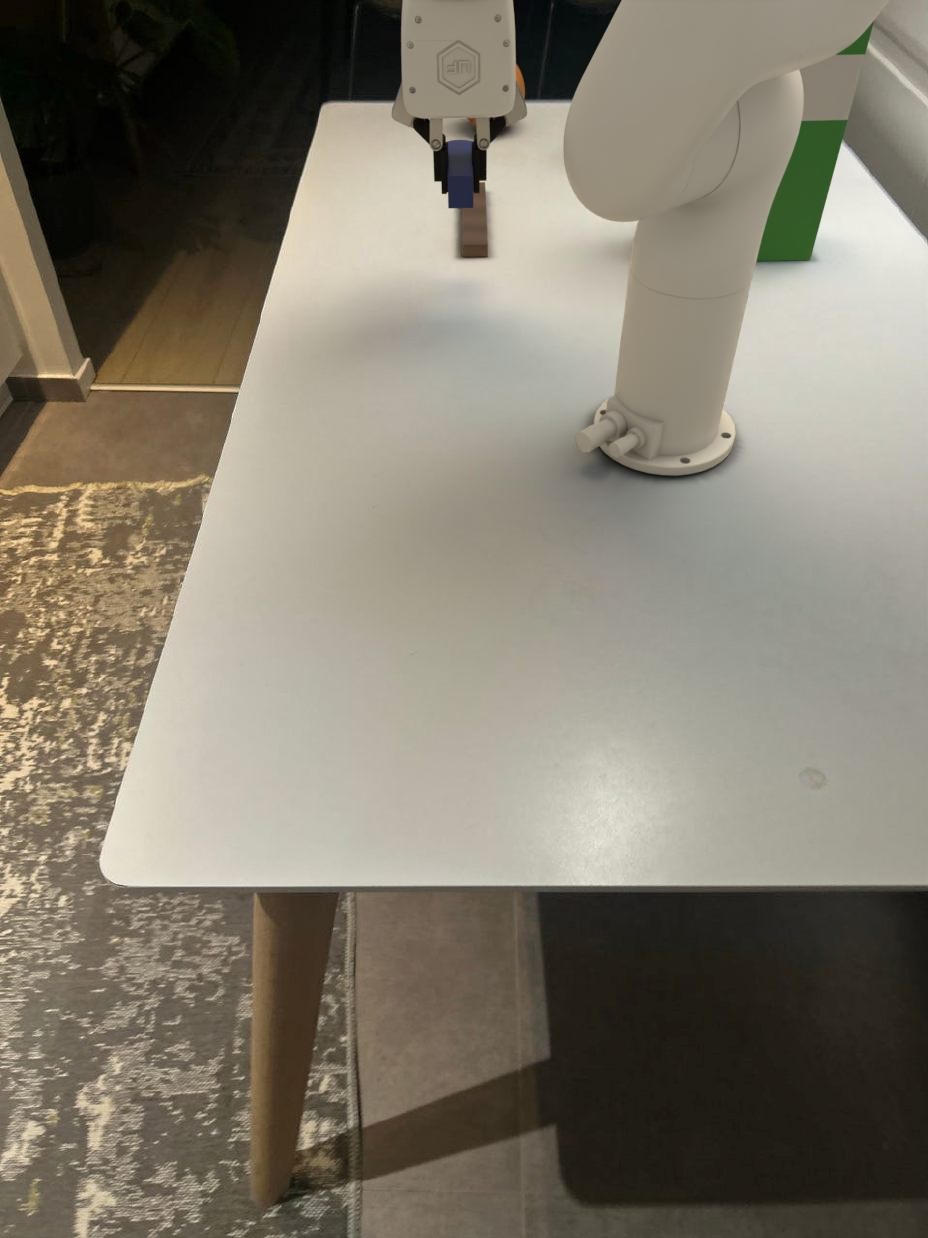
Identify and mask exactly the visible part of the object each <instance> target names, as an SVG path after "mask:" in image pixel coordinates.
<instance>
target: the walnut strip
mask: <svg viewBox="0 0 928 1238" xmlns="http://www.w3.org/2000/svg"><path fill="white" fill-rule="evenodd" d="M486 193H487V192H486V181H480V193H474V192H473V208H461V237H462V238H461V242H462V243H461V251H462V252H461V254H462V256H461V257H462V258H479V257H480V258H481V257H482V258H483V257H486V258H487V257H488V256H489V240H488V239H489V237H488V216H487V215H488V214H487V194H486Z"/></svg>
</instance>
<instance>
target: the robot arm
mask: <svg viewBox="0 0 928 1238" xmlns="http://www.w3.org/2000/svg"><path fill="white" fill-rule="evenodd" d="M890 1H891V0H621V1H620V3H619V5H618V6H617V8H616V10H615V12H614V14H613V16H612V18H611V20H610V21H609V24H608V26H607V28H606V30H605V31H604V34H603V36H602V38H601V39H600V41H599V44H598V45H597V46H596V49H595V51H594V54H593V55H592V57H591V60H590V61H589V63H588V65H587V67H586V69H585V71H584V73H583V74H582V76H581V78H580V81H579V82H578V85H577V87H576V89H575V92H574V95H573V97H572V99H571V103H570V106H569V109H568V112H567V116H566V121H565V125H564V132H563V142H562V143H563V145H562V146H563V149H562V150H563V164H564V169H565V173H566V178H567V180H568V183H569V187H571V190H572V192H573V194H574V195H575V197H576V199H577V200H578V201H579V202H580V203H581V205H582V206H583V207H584V208H585V209H587V210H588V211H589V212H591V213H592V214H594V215H595V216H597V217H599V218H601V219H604V220H607V221H611V222H616V223H617V222H618V223H629V222H630V223H632V222H637V224H636V227H635V232H634V236H633V240H632V245H631V246H632V247H631V254H630V262H629V267H628V275H627V284H626V293H625V301H624V309H623V316H622V317H623V318H622V326H621V334H620V342H619V352H618V361H617V366H616V367H617V368H616V376H615V384H614V393H613V395H612V396H611V395H610V396H609V397H608V398H607V399H605V400H604V401H603V402H602V403H600V405H599V407H598V408H597V409H596V412H595V414H594V417H593V424H591V425H589V426H587V427H585V428H584V429H583V428H582V430H580V431H578V432H577V433H576V434H575V438H574V441H575V443H576V446H577V448H578V450H580V451H581V452H582V453H583V454H584V453H585V454H589V453H590V452H592V451H594V450H595V449H597V448H600V449H601V450H602V452H603V453H604V454H606V455H607V456H608V457H609V458H611V460H613V461H616V462H617V463H619V464H621V465H623V466H624V467H627V468H629V469H632V470H634V471H639V472H642V473H645V474H650V475H657V476H671V477H672V476H673V477H674V476H676V477H677V476H685V475H692V474H697V473H702V472H704V471H706V470H709V469H712V468H714V467H715V466H717V465H718V464H720V463H722V462H723V461H724V460H725V459H726V458H727V457H728V456H729V455H730V453H731V451H732V450H733V448H734V443H735V440H736V425H735V423H734V420H733V418H732V417H731V415H730V414H729V412H728V411H727V410H726V409H725V408H724V405H725V401H726V396H727V393H728V387H729V384H730V379H731V374H732V370H733V365H734V361H735V356H736V352H737V348H738V343H739V339H740V335H741V330H742V326H743V321H744V316H745V311H746V308H747V304H748V298H749V294H750V290H751V285H752V280H753V278H754V273H755V269H756V266H757V262H758V261H757V256H758V252H759V248H760V244H761V240H762V236H763V232H764V229H765V225H766V221H767V218H768V215H769V212H770V209H771V205H772V203H773V200H774V197H775V195H776V192H777V189H778V187H779V185H780V182H781V180H782V177H783V175H784V172H785V170H786V168H787V165H788V163H789V160H790V158H791V155H792V152H793V149H794V146H795V143H796V140H797V137H798V134H799V130H800V126H801V121H802V116H803V107H804V91H803V83H802V78H801V74H800V71H799V69H802V68H805V67H808V66H811V65H813V64H816V63H819V62H821V61H823V60H826V59H828V58H830V57H832V56H834V55H836V54H837V53H839V52H841V51H842V50H844V49H845V48H847V47H848V46H850V45H851V44H852V43H853V42H855V41H856V40H857V39H858V38H859V37H860V36H861V35H862V34H863V33H864V32H865V30H866V29H867V28H868V27H869V26H870V25H871V23H872V22H873V21H874V22H875V20H876V18H878V16H879V15H880V13H881V12H882V11H883V10H884V9H885V8H886V6H887V5H888V3H889V2H890ZM401 5H402V6H401V21H400V22H401V23H400V24H401V26H400V43H401V44H400V46H401V47H400V56H401V57H400V58H401V59H400V60H401V83H400V86H399V88H398V92H397V94H396V97H395V99H394V102H393V105H392V108H391V118H392V120H393V121H395V122H397V123H399V124H401V125H404V126H405V127H408V128H411V129H413V130H414V131H415V132H416V133H417V134H418V135H419V136H420V137H421V138H422V139H423V140H424V141H425V142H426V143H427V144H428V145H429V147H430V149H431V150H432V153H433V154H432V157H433V158H432V159H433V160H432V161H433V182H434V183H435V182H436V183H437V182H439V183H440V184H441V185H440V186H441V195H448V142H447V136H446V135H445V134H444V129H443V128H444V119H467V118H476V126H475V129H476V132H475V133H474V134H473V142H472V165H473V192H474V193H480V182H486V181H487V178H488V177H487V169H488V167H487V165H488V164H487V163H488V162H487V161H488V155H487V154H488V151H487V150H488V149H489V148H490V146H491V143H493V142H494V140H495V139H496V138H497V137H499V135H500V134H501V133H502V132H503V131H504V130H505V128H506V127H509V126H512V125H513V124H516V123H517V122H519V121H522V120H523V119H525V118H526V117H527V116H528V109H527V104H526V102H525V98H524V99H523V97H522V94H521V92H520V89H519V86H518V84H517V81H516V64H517V57H516V56H517V53H516V52H517V51H516V50H517V49H516V23H515V21H516V20H515V11H514V9H515V8H514V0H402V3H401ZM489 117H490V118H489Z"/></svg>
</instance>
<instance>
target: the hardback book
mask: <svg viewBox="0 0 928 1238" xmlns="http://www.w3.org/2000/svg"><path fill="white" fill-rule="evenodd" d="M874 23H875V20H874V21H873V22H872V23H871V25H870V26H869V27H868V28H867V29H866V30H865V32H864V33H863V34H862V35H861V36H860V37H859V38H858V39H857V40H856V41H855V42H853V43H852V44H851V45H850V46H848V47H847V48H845V49H844V50H842V51H841V52H839V53H837V54H836V55H834V56H832V57H830V58H828V59H826V60H823V61H821V62H819V63H816V64H813V65H811V66H808V67H805V68H802V69H799V71H800V74H801V78H802V83H803V91H804V107H803V116H802V121H801V126H800V130H799V134H798V137H797V140H796V143H795V146H794V149H793V152H792V155H791V158H790V160H789V163H788V165H787V168H786V170H785V172H784V175H783V177H782V180H781V182H780V185H779V187H778V189H777V192H776V195H775V197H774V200H773V203H772V205H771V209H770V212H769V215H768V218H767V221H766V225H765V229H764V232H763V236H762V240H761V244H760V248H759V252H758V256H757V261H756V262H778V261H779V262H780V261H781V262H782V261H810V260H811V258H812V256H813V251H814V248H815V243H816V239H817V236H818V232H819V229H820V225H821V222H822V217H823V214H824V210H825V207H826V202H827V199H828V196H829V191H830V187H831V184H832V180H833V177H834V172H835V169H836V167H837V166H836V165H837V163H838V162H837V161H838V157H839V154H840V150H841V147H842V143H843V139H844V135H845V131H846V129H847V124H848V120H849V116H850V113H851V108H852V106H853V102H854V99H855V94H856V92H857V87H858V83H859V79H860V76H861V73H862V68H863V65H864V61H865V57H866V54H867V49H868V45H869V42H870V38H871V35H872V31H873V27H874Z"/></svg>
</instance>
